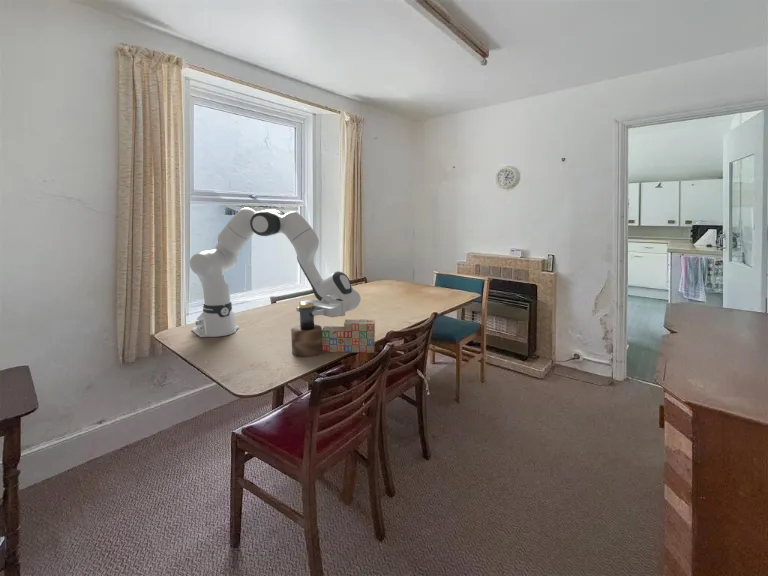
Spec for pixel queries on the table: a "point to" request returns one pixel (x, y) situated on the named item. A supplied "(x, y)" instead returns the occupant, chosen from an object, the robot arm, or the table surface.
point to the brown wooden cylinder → (306, 341)
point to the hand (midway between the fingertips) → (305, 311)
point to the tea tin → (306, 316)
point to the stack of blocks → (350, 337)
